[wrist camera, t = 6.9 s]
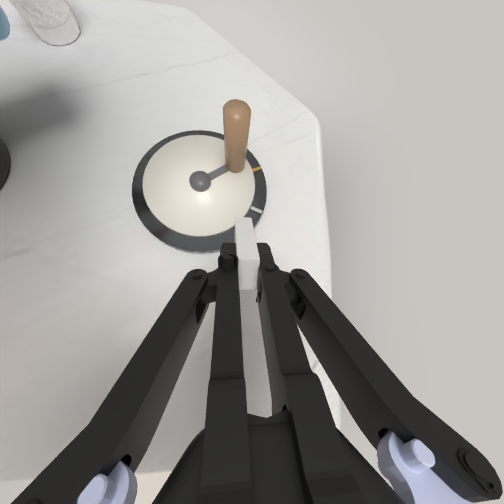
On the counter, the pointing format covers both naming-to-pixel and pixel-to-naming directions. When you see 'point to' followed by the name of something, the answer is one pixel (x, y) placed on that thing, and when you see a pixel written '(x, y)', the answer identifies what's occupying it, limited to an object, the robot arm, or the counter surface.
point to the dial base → (184, 241)
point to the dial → (203, 178)
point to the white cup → (49, 20)
